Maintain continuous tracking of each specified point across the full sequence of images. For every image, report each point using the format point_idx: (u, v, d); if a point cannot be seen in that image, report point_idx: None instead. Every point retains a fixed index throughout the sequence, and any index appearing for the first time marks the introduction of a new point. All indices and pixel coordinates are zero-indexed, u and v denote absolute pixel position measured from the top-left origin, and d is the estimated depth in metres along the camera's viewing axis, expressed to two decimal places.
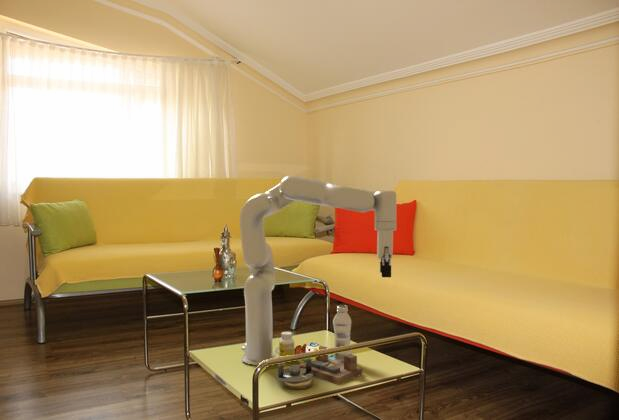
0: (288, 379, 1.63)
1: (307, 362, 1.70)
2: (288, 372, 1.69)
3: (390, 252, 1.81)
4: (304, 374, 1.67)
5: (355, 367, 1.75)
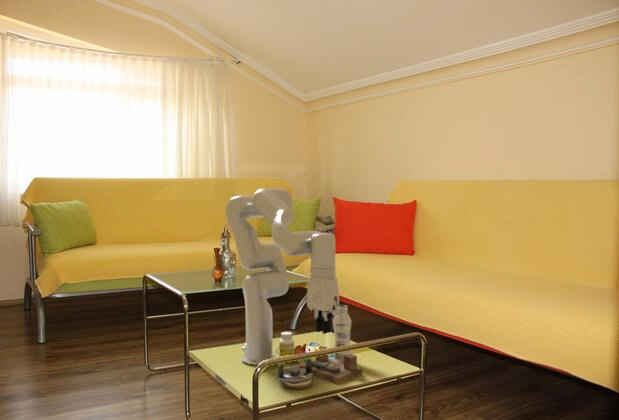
0: (288, 379, 1.63)
1: (307, 362, 1.70)
2: (288, 372, 1.69)
3: None
4: (304, 374, 1.67)
5: (355, 367, 1.75)
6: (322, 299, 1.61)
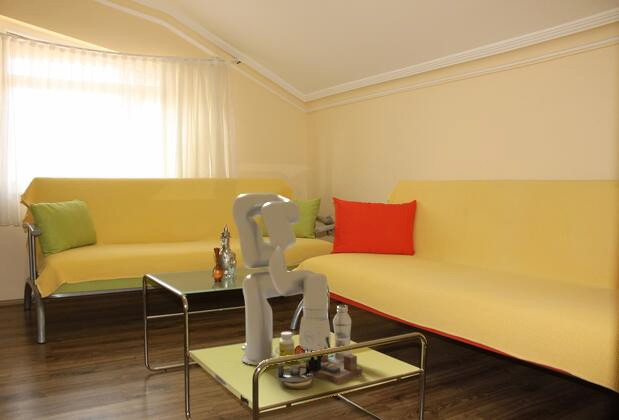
0: (288, 379, 1.63)
1: (307, 362, 1.70)
2: (288, 372, 1.69)
3: None
4: (304, 374, 1.67)
5: (355, 367, 1.75)
6: (314, 339, 1.64)
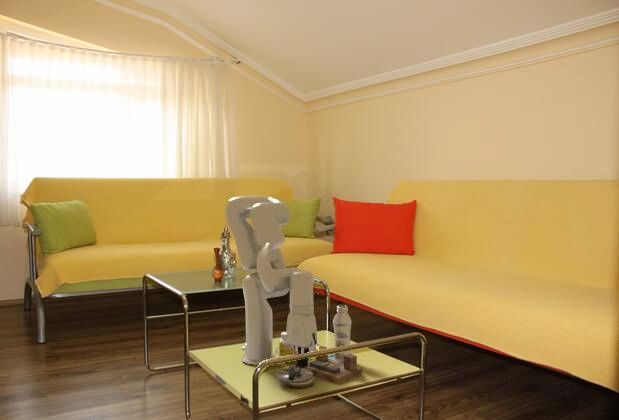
0: (302, 379, 1.63)
1: None
2: (287, 374, 1.67)
3: None
4: (302, 371, 1.70)
5: (355, 367, 1.75)
6: (300, 336, 1.66)
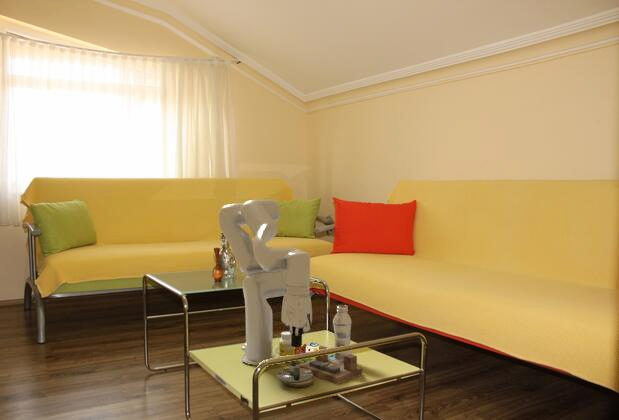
0: (306, 377, 1.64)
1: None
2: (288, 375, 1.67)
3: None
4: (300, 371, 1.71)
5: (355, 367, 1.75)
6: (295, 316, 1.67)
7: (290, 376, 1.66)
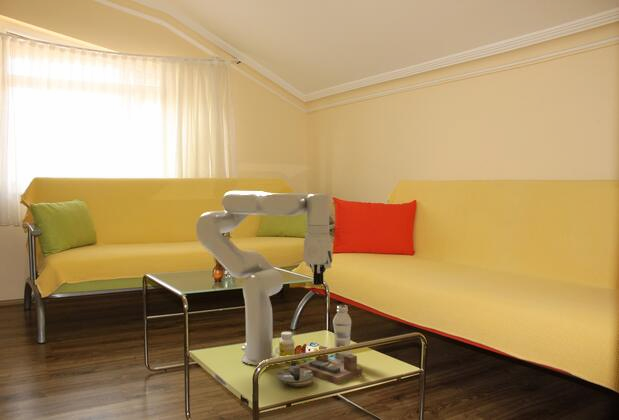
0: (306, 377, 1.64)
1: None
2: (288, 375, 1.67)
3: None
4: (300, 371, 1.71)
5: (355, 367, 1.75)
6: (317, 253, 1.76)
7: (290, 376, 1.66)
